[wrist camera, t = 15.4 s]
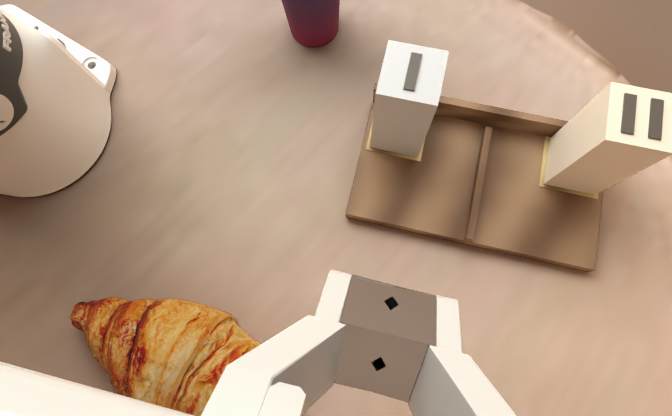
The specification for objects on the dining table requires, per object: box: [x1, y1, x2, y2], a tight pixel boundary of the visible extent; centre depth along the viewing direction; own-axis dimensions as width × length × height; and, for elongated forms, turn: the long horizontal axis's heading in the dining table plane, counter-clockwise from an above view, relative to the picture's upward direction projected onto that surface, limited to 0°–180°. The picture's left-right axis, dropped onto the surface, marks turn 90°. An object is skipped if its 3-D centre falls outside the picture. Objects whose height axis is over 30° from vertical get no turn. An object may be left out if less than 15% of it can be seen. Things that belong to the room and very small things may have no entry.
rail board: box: [346, 83, 603, 272], centre depth 40 cm, size 22×12×4 cm, turn 76°
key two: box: [544, 82, 672, 195], centre depth 35 cm, size 4×5×10 cm
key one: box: [370, 40, 449, 157], centre depth 37 cm, size 4×5×10 cm
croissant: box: [70, 297, 261, 416], centre depth 36 cm, size 21×10×8 cm, turn 68°
